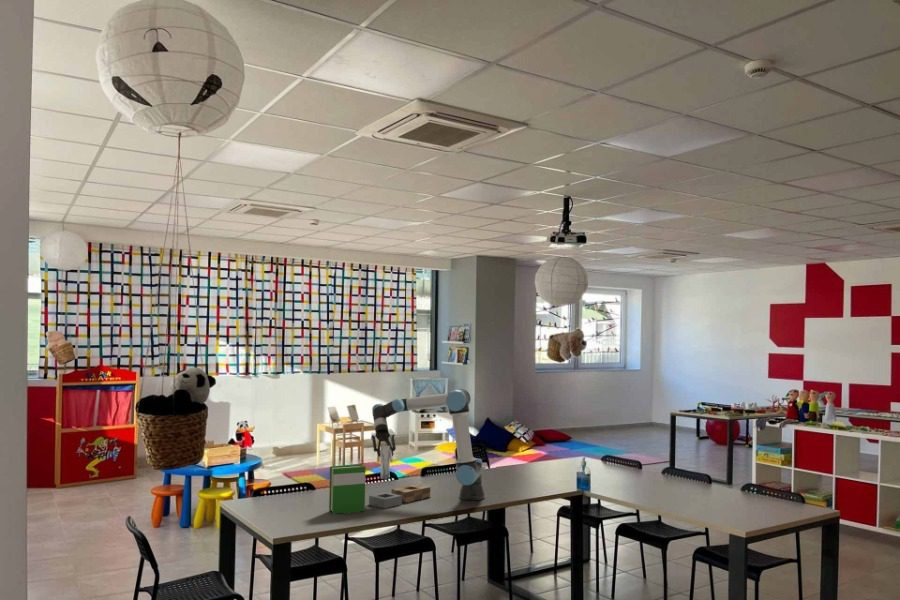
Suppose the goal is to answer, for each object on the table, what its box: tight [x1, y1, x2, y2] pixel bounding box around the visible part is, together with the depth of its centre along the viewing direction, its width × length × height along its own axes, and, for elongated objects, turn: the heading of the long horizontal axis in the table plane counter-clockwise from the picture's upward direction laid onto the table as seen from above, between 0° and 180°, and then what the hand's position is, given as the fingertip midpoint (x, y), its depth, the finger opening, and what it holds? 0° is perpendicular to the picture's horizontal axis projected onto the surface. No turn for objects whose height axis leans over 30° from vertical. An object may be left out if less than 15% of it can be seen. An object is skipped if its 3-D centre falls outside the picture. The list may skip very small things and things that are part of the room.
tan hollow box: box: [391, 484, 431, 503], centre depth 401 cm, size 12×20×6 cm, turn 137°
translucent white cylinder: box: [380, 444, 391, 480], centre depth 386 cm, size 5×5×18 cm
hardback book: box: [328, 464, 366, 515], centre depth 369 cm, size 18×7×24 cm, turn 114°
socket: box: [368, 491, 403, 509], centre depth 385 cm, size 13×13×5 cm
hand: (386, 460), depth 383 cm, fingers closed on translucent white cylinder, 5 cm apart
